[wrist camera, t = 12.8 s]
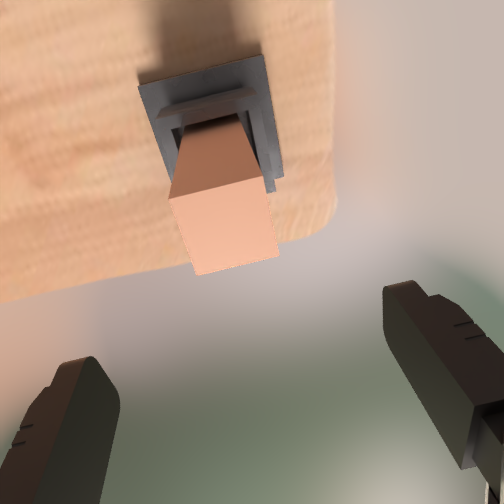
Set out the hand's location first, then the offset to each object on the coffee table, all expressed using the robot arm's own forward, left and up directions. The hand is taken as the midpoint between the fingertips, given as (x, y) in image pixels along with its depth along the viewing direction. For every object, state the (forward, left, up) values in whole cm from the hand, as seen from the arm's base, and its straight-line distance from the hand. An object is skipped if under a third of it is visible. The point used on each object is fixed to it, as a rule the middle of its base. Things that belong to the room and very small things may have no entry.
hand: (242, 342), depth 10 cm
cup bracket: (0, 0, -25) cm, 25 cm away
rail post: (0, 0, -21) cm, 21 cm away
